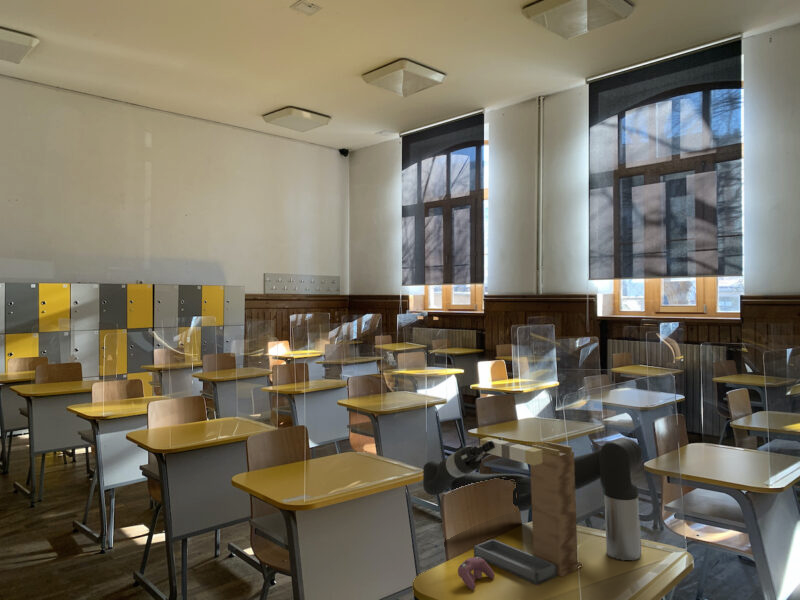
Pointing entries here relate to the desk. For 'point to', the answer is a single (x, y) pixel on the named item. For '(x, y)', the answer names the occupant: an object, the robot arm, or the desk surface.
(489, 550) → the parts tray
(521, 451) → the block
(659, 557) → the desk surface
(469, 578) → the video game controller
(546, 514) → the brown wooden tall block
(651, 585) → the desk surface
